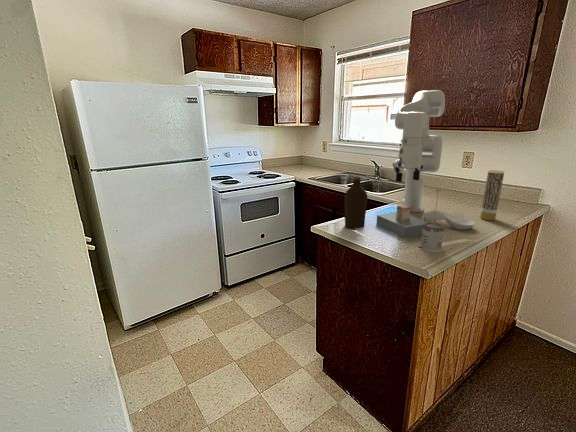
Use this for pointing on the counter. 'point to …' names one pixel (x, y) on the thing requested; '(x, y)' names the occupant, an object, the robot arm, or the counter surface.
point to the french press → (431, 238)
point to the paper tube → (492, 194)
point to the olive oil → (355, 205)
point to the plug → (403, 212)
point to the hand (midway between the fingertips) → (407, 180)
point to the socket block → (401, 225)
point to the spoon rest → (455, 221)
